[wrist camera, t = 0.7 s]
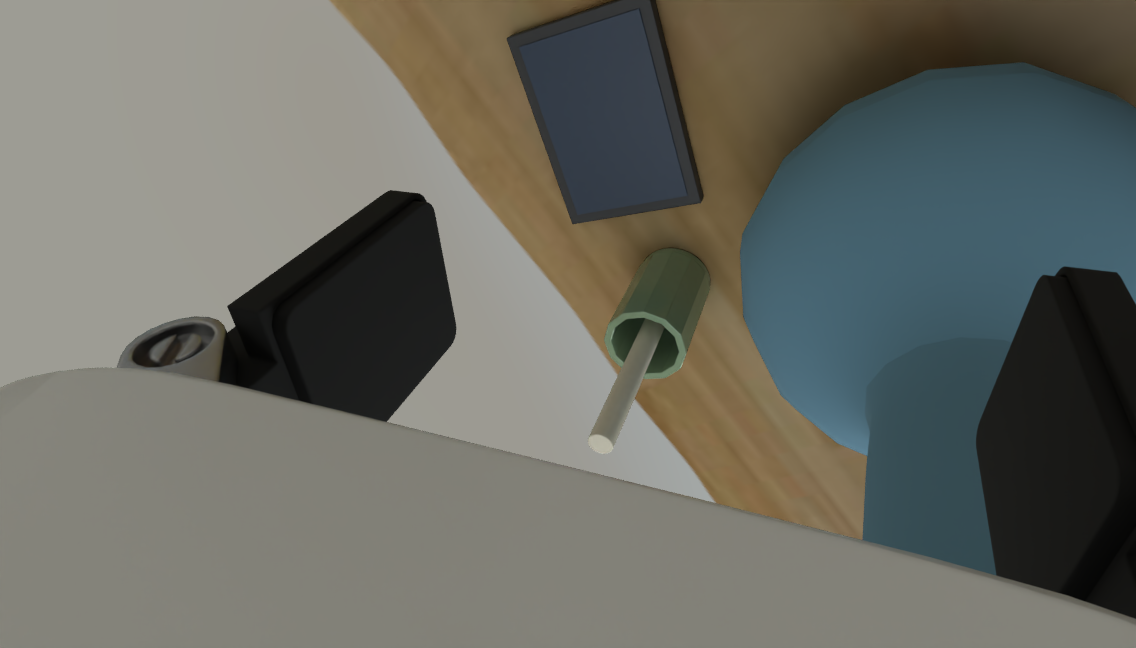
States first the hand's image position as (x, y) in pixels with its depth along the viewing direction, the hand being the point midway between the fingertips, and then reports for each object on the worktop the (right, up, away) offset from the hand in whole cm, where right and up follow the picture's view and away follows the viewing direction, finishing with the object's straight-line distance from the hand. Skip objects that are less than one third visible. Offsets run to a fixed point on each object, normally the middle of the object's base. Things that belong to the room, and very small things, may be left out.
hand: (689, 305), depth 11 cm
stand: (+5, +2, +30) cm, 30 cm away
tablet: (0, +11, +25) cm, 28 cm away
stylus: (+4, +2, +30) cm, 30 cm away
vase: (+16, +6, +22) cm, 28 cm away
